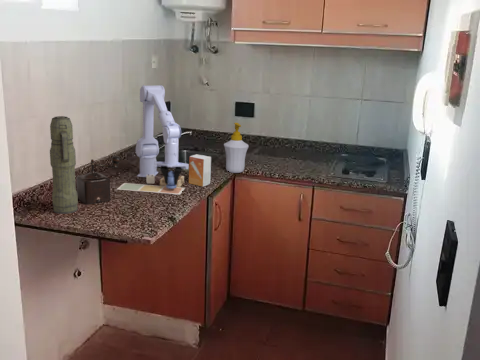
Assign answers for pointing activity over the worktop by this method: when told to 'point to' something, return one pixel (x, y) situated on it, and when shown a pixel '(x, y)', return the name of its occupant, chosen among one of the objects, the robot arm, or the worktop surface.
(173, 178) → the pawn
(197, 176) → the small box
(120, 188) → the game mat
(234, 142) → the soap bottle
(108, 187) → the dark brown coffee grinder
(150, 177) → the ivory die
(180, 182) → the frame
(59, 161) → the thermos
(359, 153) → the worktop surface
